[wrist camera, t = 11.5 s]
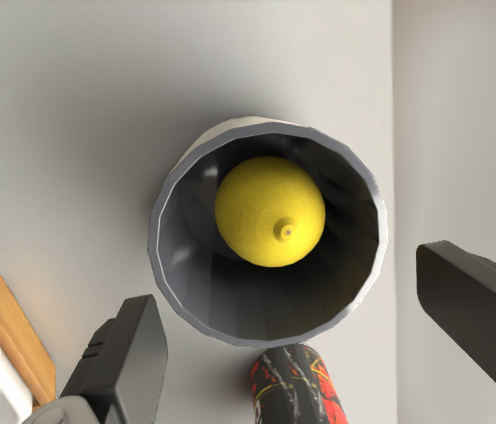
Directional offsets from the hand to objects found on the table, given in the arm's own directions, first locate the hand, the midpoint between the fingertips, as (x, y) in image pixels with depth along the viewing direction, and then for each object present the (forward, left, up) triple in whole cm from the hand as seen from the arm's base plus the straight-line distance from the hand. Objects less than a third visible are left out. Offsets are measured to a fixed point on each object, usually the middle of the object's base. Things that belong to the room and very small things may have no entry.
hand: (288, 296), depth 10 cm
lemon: (0, 0, -12) cm, 12 cm away
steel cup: (0, 0, -13) cm, 13 cm away
